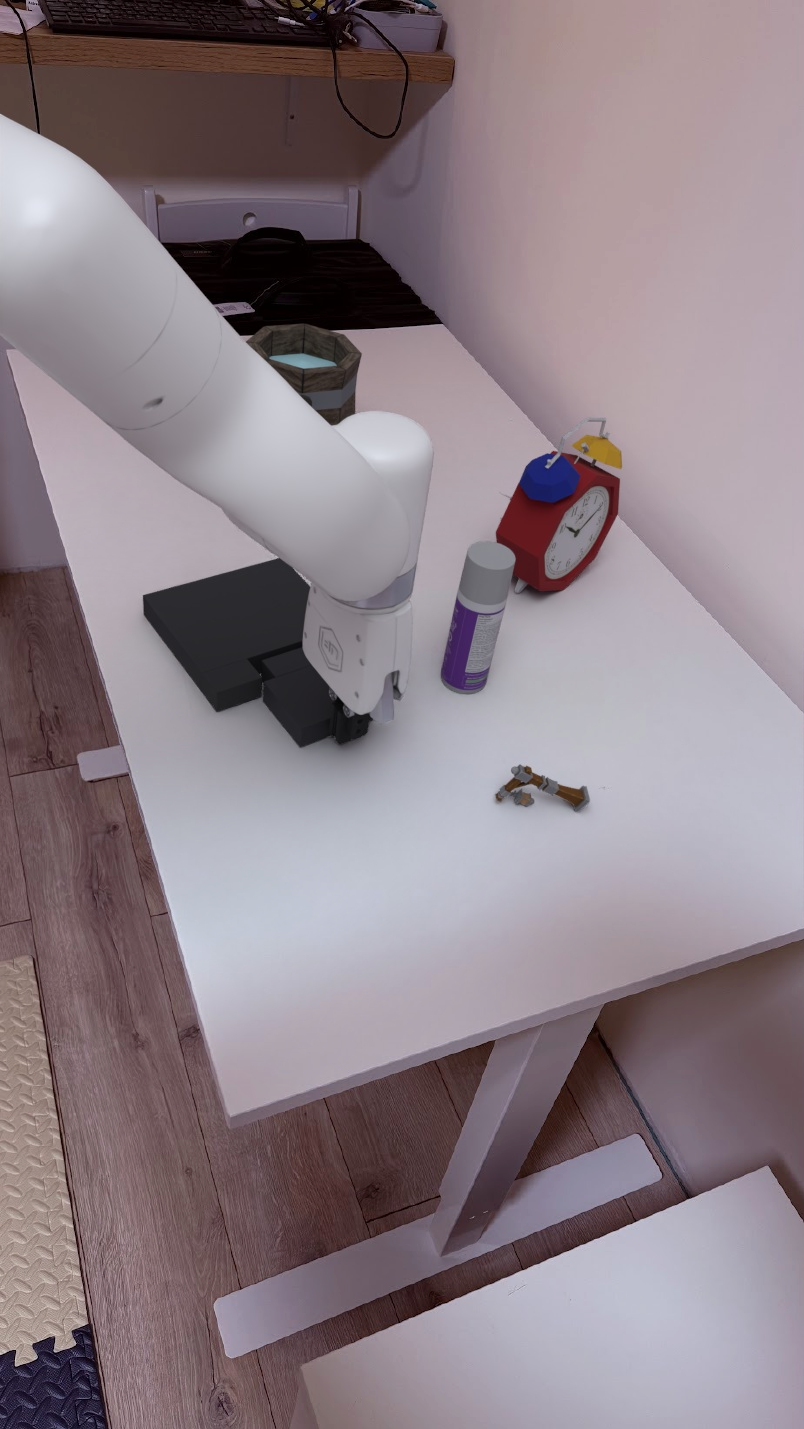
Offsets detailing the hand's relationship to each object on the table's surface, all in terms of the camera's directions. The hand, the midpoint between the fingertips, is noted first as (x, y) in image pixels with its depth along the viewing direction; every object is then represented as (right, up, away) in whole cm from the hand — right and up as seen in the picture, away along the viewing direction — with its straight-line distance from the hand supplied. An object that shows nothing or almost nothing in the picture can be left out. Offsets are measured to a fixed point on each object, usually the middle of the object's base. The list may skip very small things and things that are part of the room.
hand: (348, 734), depth 92 cm
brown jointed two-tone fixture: (+17, -7, -1) cm, 19 cm away
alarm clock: (+20, +18, +25) cm, 37 cm away
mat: (-10, +9, +10) cm, 17 cm away
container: (+11, +5, +10) cm, 16 cm away
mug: (-8, +31, +34) cm, 47 cm away
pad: (-4, +3, +4) cm, 6 cm away
